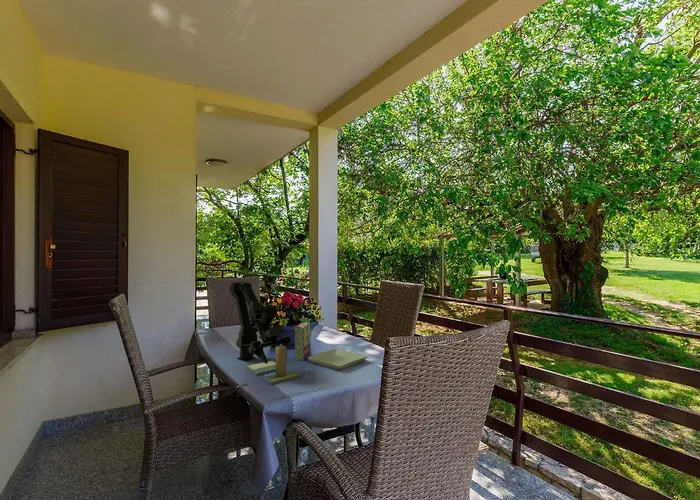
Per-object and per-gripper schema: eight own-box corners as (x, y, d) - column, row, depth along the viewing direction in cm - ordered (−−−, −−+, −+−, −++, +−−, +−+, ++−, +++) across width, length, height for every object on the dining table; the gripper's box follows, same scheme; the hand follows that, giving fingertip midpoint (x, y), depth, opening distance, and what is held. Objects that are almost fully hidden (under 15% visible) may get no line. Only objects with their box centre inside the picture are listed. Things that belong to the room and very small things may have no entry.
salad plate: (335, 354, 197) (335, 347, 197) (368, 362, 184) (368, 355, 184) (306, 364, 181) (306, 356, 181) (340, 373, 168) (340, 366, 167)
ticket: (244, 368, 173) (244, 365, 173) (272, 362, 182) (272, 360, 182) (256, 375, 164) (256, 372, 164) (285, 369, 172) (285, 366, 172)
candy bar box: (301, 353, 196) (301, 322, 196) (311, 354, 195) (311, 322, 195) (294, 360, 185) (294, 326, 185) (304, 361, 184) (304, 327, 184)
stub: (262, 379, 159) (262, 348, 158) (292, 372, 167) (292, 343, 167) (270, 384, 153) (270, 352, 153) (300, 376, 162) (300, 346, 162)
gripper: (251, 323, 162) (262, 355, 153) (289, 317, 173) (302, 347, 165) (243, 337, 168) (254, 369, 160) (281, 331, 180) (293, 360, 171)
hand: (276, 361), depth 164 cm, fingers open, 9 cm apart
